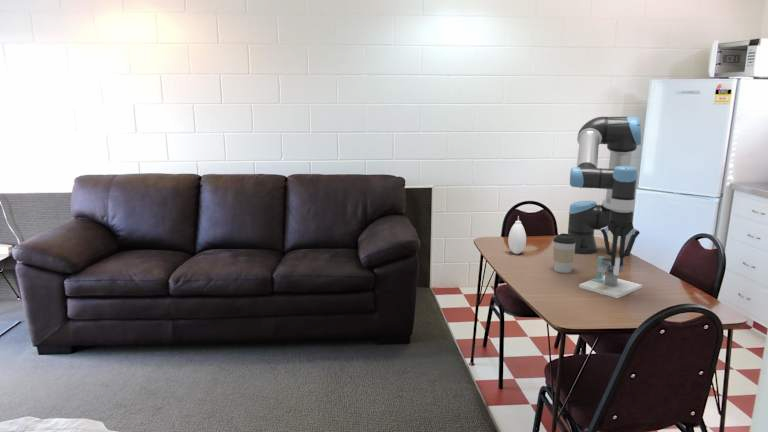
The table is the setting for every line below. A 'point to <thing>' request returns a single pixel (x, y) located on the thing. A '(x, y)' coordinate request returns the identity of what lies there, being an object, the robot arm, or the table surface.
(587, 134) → the robot arm
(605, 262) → the knob
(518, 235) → the sauce bottle
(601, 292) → the lock base
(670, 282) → the table surface
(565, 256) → the coffee cup
